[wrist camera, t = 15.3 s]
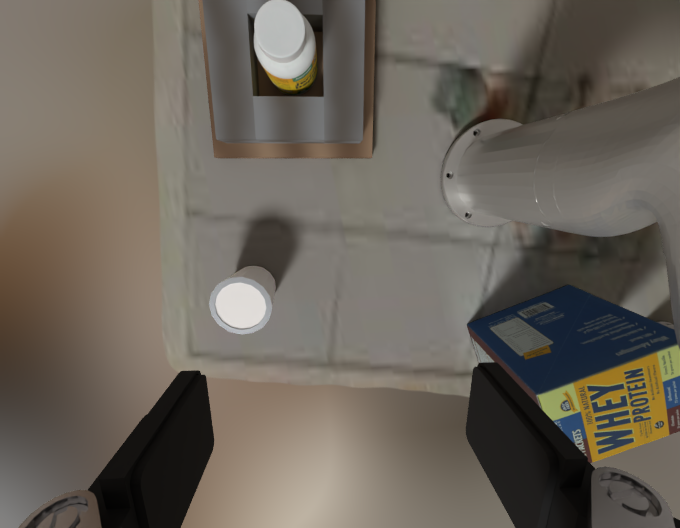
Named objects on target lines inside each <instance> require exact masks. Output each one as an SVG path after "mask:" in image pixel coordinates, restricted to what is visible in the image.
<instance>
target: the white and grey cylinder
mask: <svg viewBox="0 0 680 528" xmlns="http://www.w3.org/2000/svg"><path fill="white" fill-rule="evenodd" d="M275 290H276V285H275V279H274V278H273V276H272V275H271V273H270V272H269V271H267V270H266V269H264V268H263V267H259V266H255V265H254V266H246V267H244V268H243V269H241V270H239V271H238V272H236V273H234V274H233V275H231V276H230V277H228V278H227V279H225V280H224V281H222V282H221V283H219V284H218V285H217V286H216V288H215V289H214V290H213V292H212V293H211V298H210V303H209V306H210V310H211V314H212V316H213V318H214V319H215V321H216V322H217V323H218V325H220V326H221V327H223V328H224V329H226V330H227V331H229V332H233V333H237V334H248V333H253V332H255V331H257V330H259V329H261V328H263V326H264V325H265V324H266V323H267V321H268V320H269V319H270V315H271V311H272V307H273V301H274V295H275Z"/></svg>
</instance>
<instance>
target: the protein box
mask: <svg viewBox="0 0 680 528" xmlns="http://www.w3.org/2000/svg"><path fill="white" fill-rule="evenodd" d="M467 327H468V330H469V334H470V336H471V340H472V343H473V346H474V349H475V352H476V355H477V358H478V361H479V363H482V362H497V363H498V364H499V365H500V366H501V367H502V368H503V369H504V370H505V371H506V372H507V373H508V374H509V375H510V376H511V377H512V378H513V379H514V380H515V381H516V383H517V384H518V385H519V386H520V387H521V388H522V389H523V390H524V391H525V392H526V393H527V394H528V395H529V396H530V397H531V398H532V399H533V400H534V402H535V403H536V404H537V405H538V406H539V407H540V408H541V409H542V410H543V411H544V412H545V413H546V414H547V415H548V416H549V417H550V418H551V420H552V421H553V422H554V423H555V424H556V425H557V426H558V427H559V428H560V429H561V430H562V431H563V432H564V433H565V434H566V435H567V436H568V437H569V439H570V440H571V441H572V442H573V443H574V444H575V445H576V446H577V447H578V448H579V449H580V450H581V451H582V452H583V453H584V454H585V455H586V456H587V458H588V462H589V463H592V462H595V461H598V460H600V459H604V458H606V457H609V456H612V455H615V454H618V453H620V452H623V451H626V450H628V449H631V448H634V447H637V446H640V445H643V444H646V443H649V442H652V441H654V440H657V439H659V438H662V437H665V436H668V435H670V434H673V433H676V432H678V431H680V349H679V346H678V343H677V339H676V334H675V330H674V329H672V328H669V327H667V326H665V325H663V324H660V323H658V322H655V321H653V320H651V319H648V318H646V317H644V316H641V315H639V314H637V313H634V312H632V311H630V310H627V309H625V308H623V307H620V306H618V305H616V304H613V303H611V302H609V301H606V300H604V299H602V298H599V297H597V296H595V295H592V294H590V293H588V292H585V291H583V290H581V289H578V288H576V287H574V286H572V285H567V286H564V287H562V288H559V289H556V290H554V291H551V292H549V293H546V294H544V295H541V296H538V297H536V298H533V299H531V300H528V301H525V302H523V303H520V304H518V305H515V306H512V307H510V308H507V309H505V310H502V311H499V312H497V313H494V314H492V315H489V316H486V317H484V318H481V319H478V320H476V321H473V322H471V323H468V324H467Z"/></svg>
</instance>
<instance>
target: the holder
mask: <svg viewBox="0 0 680 528" xmlns="http://www.w3.org/2000/svg"><path fill="white" fill-rule="evenodd" d="M268 1H270V0H199V10H200V19H201V29H202V39H203V49H204V59H205V69H206V79H207V89H208V99H209V109H210V118H211V128H212V138H213V148H214V157H215V158H372V140H373V96H374V53H375V10H376V0H286V1H289V2H290V3H292V4H293V5H295V6H296V8H297V9H298V10H299V11H300V13H301V14H302V15H303V16H304V17H305V18H306V19H307V20H308V22H309V23H310V25H311V27H312V30H313V32H314V36H315V42H316V52H317V65H318V71H317V77H316V80H315V82H314V84H313V86H312V87H311V88H310V89H309V90H308V91H307V92H305V93H303V94H300V95H287V94H284V93H283V92H281V91H280V90H278V89H277V88H276V87H275V86H274V84H273V83H272V81H271V80H270V78H269V76H268V75H267V73H266V71H265V70H264V68H263V66H262V65H261V63H260V61H259V60H258V57H257V55H256V52H255V48H254V32H255V31H254V22H255V17H256V15H257V12H258V10H259V9H260V8H261V7H262V5H263V4H265V3H266V2H268Z"/></svg>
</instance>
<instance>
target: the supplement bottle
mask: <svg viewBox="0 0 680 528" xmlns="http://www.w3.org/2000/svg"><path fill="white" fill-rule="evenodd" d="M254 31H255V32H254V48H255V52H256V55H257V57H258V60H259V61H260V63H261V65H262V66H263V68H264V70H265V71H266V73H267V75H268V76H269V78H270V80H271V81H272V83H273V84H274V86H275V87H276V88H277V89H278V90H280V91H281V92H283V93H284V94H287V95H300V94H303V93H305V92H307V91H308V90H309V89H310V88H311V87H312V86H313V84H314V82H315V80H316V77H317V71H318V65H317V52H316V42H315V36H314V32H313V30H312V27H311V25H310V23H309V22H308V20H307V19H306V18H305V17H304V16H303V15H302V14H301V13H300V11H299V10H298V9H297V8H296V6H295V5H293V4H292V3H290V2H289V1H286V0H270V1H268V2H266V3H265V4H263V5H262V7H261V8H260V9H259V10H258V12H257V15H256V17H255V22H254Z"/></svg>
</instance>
